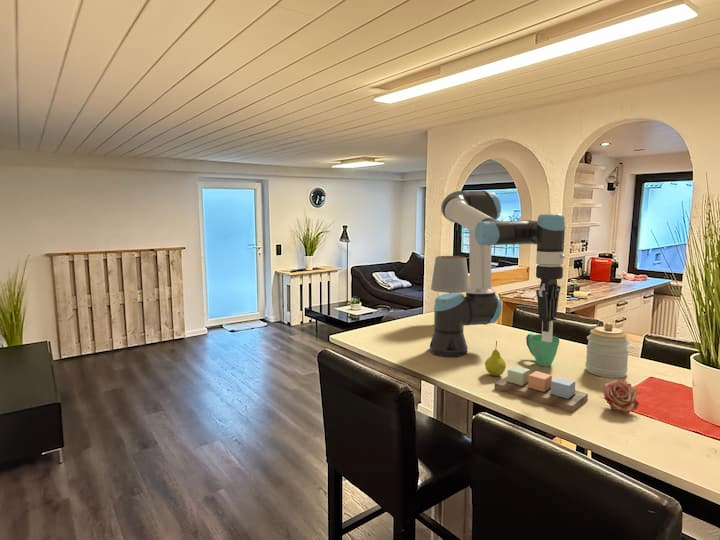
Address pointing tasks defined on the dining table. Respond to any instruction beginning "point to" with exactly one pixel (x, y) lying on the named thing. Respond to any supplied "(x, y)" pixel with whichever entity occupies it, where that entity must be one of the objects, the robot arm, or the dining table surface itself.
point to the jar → (607, 352)
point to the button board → (542, 395)
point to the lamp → (450, 274)
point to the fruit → (495, 364)
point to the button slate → (563, 387)
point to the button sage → (518, 375)
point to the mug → (542, 349)
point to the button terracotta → (540, 381)
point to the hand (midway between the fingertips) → (546, 341)
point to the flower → (621, 396)
